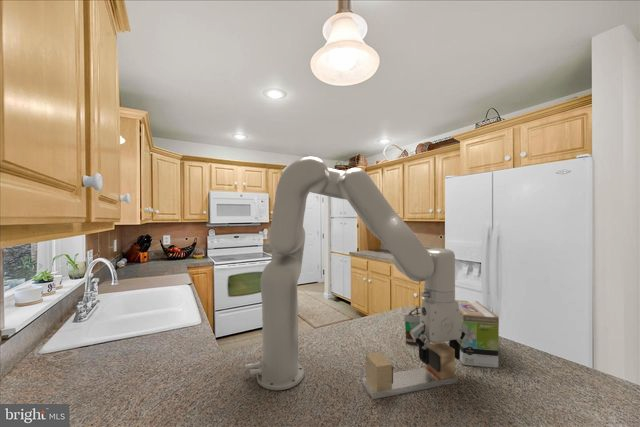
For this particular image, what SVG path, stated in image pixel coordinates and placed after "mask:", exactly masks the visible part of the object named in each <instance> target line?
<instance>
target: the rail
mask: <svg viewBox="0 0 640 427" xmlns="http://www.w3.org/2000/svg"><path fill="white" fill-rule="evenodd" d="M365 368H366V369H365V377H362V379H361V380H362V386H363V387H364V388H365V390H366V391H367V393H368V395H370V397H371V399H372V400H376V399H380V398H381V399H382V398H386V397H387V398H388V397H390V396H397V395H401V394H406V393H411V392H417V391H422V390H426V389H427V390H428V389H432V388H436V387H441V386H447V385H452V384H457V383H458V376H457V375H456V374H455V377H449V378H444V379H441V378H440V377H439V376H438V375H436V374H435V373H434V372H433V371H432V370H430V369H429V368H428V367H427V365H426V366H423V367H420V368H413V369H408V370H401V371H397V372H394V367H393V365H392V363H391V362H390V361H389V360H388V358H386V357H385V356H384V355H383V354H382V353H381V352H373V353H367V354H366V353H365Z"/></svg>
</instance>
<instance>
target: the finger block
mask: <svg viewBox="0 0 640 427" xmlns="http://www.w3.org/2000/svg"><path fill="white" fill-rule="evenodd" d="M427 348H428V349H429V364H428V365H426V366H427V367H428V368H429V369H430V370H432V371H433V372H434V373H435V374H436V375H438V376H439V377H440V378H441V379H444V378H449V377H455V375H456V373H455V372H456V370H455V369H456V366H455V365H456V362H455V360H456V358H455V349H453V348H452V347H450V346H449V345H448V344H447V343H446V342H445V341H444V342H436V343H433V342H430V344H429V345H428V347H427Z"/></svg>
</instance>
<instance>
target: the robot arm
mask: <svg viewBox="0 0 640 427" xmlns="http://www.w3.org/2000/svg"><path fill="white" fill-rule="evenodd" d="M310 193H312V194H316V195H322V196H326V197H330V198H336V199H338V200H339V199H340V200H345V201H347V202H348V203H349V204H350V206H351V207H352V209H353V210H354V212H355V213H356V214H357V216H358V217H359V218H360V220H361V221H362V223H363V224H364V226H365V227H366V228H367V230H369V231H370V233H371V234H372V235H373V236H374V237H376V239H378V241H380V242H381V243H382V244H383V245H384V246H385V248H386V249H387V250H388V251H389V252H390V254H391V255H392V256H393V257H392V258H393V265H394V267H395V268H396V269H397V270H398V272H400V273H401V274H403V275H404V276H405V277H407V278H408V279H409V280H411V281H414V282H418V283H419V282H424V288H423V289H424V291H423V292H421V293H420V295H421V297H422V298H423V299H422V301H421V302H422V303H421V306H420V307H421V312H420V324H419V325H417V326H416V327H415V328H413V329H412V330H411V331H410V334H411V336H412V338H413V340H414V341H415V342H416V343H417V344H418V345H417V346H418V357H419V360H420V361H421V362H422V363H423V364H425V365H426V366H427V365H428V364H429V349H428V348H427V347H428V345H429V344H430V342H433V343H436V342H444V343H445V342H448V341H449V343H448V344H449V346H450V347H452V348H453V349H455V360H460V344H461V343H462V339H463V338H464V336H465V332H466V330H467V328H468V326H467V325H466V324H464V323H462V322H461V316H460V309H459V305H458V301H457V300H458V299H456V255H455V253H454V251H453V250H451V249H447V248H443V247H442V248H439V247H437V248H436V247H435V248H434V247H433V248H426V247H425V246H424V244H423V242H421V240H420V239H419V237H418V236H417V235H416V233H414V231H413V230H412V229H411V228H410V226H409V225H407V223H406V222H405V221H404V219H403V218H401V216H400V215H399V214H398V213H397V212H396V211H395V210H394V209H393V207H392V205H391V204H390V202H389V201H388V200H387V199H386V197H385V196H384V194H383V193H382V192H381V190H380V189H379V188H378V186H377V184H376V183H375V182H374V181H373V179H372V177H371V176H370V175H369V174H368V173H367V171H365V170H364V169H363V168H360V167H352V168H349V169H347V170H339V169H334V168H330V167H328V165H327V164H326V162H325V161H324V160H323V159H321V158H320V157H316V156H306V157H302V158H299V159H297V160H296V161H293V162H292V163H291V164H289V165H288V166H287V167H286V168H285V170H283V172H282V173H281V175H280V177H279V180H278V183H277V186H276V191H275V197H274V202H273V203H274V204H273V207H272V208H273V209H272V216H271V222H270V229H269V234H268V242H269V246H270V248H271V249H272V250H271V251H272V252H271V259H270V262H268V263H267V265H266V266H265V267H264V268H263V271H262V273H261V276H260V281H259V282H260V283H259V284H260V294H261V305H262V307H261V314H262V318H261V319H262V320H261V321H262V356H260V360H257V361H256V362H251V363H249V362H248V363H245V364H244V372H245V373H248V372H249V376H250V377H251V376H256V381H257V384H258V385H259V386H260V387H262V388H264V389H267V390H269V391H283V390H287V389H291V388H293V387H295V386H297V385H299V383H301V381H302V380H303V379H304V377H305V372H304V370H305V369H304V367H303V365H301V364H300V363H299V301H298V283H299V282H298V281H299V278H300V275H301V271H302V265H303V256H304V250H305V243H306V231H305V228H304V219H305V212H306V205H307V199H308V195H309V194H310ZM419 333H420V334H421V336H420V337H419V336H418V334H419ZM425 338H426V340H425V342H424V343H423V341H424V339H425Z"/></svg>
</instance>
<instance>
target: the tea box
mask: <svg viewBox="0 0 640 427" xmlns="http://www.w3.org/2000/svg"><path fill="white" fill-rule="evenodd" d="M456 300H457V301H458V305H459V309H460V316H461V322H462V323H464V324H466V325H467V326H468V328H467V330H466V332H465V336H464V338H463V339H462V343H461V344H460V359H459V361H460V362H461V364H462V365H464V366H473V367H482V368H483V367H484V368H494V369H495V368H499V347H500V346H499V340H500V339H499V336H500V335H499V334H500V332H499V331H500V329H499V327H500V322H499V320H500V318H499V316H498V315H497V314H495V313H494V312H492V311H491V310H489V308H487V307H486V306H484V305H483V304H482V303H480V302H479V301H477V300H476V301H474V300H459V299H456ZM447 343H448V344H449V341H447Z"/></svg>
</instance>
